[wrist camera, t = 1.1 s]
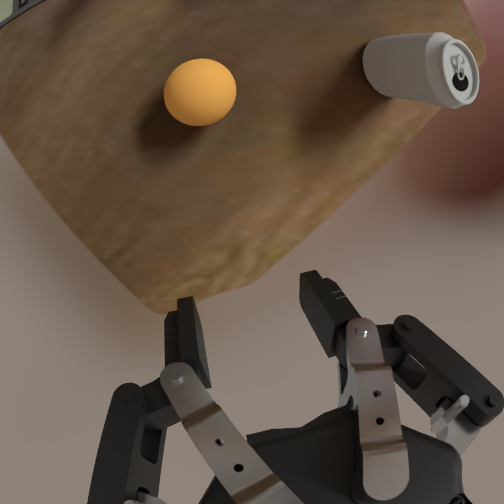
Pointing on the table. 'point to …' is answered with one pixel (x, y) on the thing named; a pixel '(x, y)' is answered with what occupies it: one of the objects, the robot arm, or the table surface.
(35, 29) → the table surface
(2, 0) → the calculator
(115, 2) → the table surface
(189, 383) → the robot arm
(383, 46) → the can
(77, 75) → the table surface
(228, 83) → the ball
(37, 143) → the table surface
